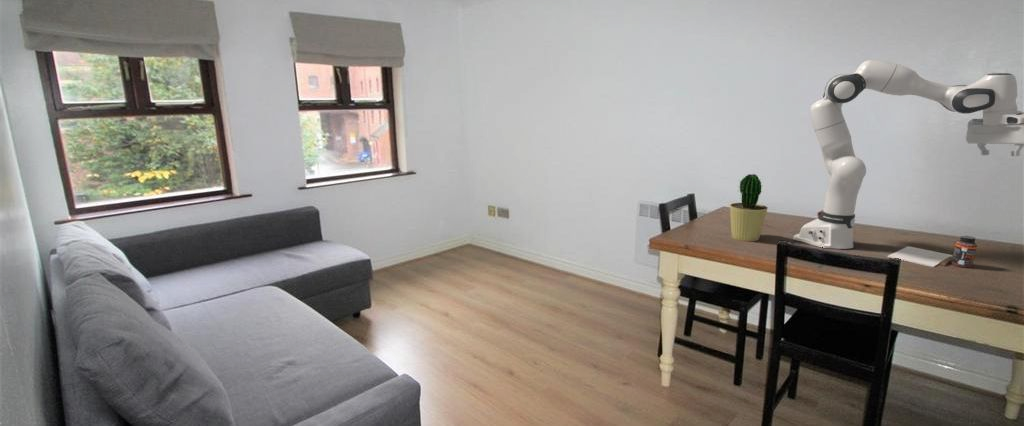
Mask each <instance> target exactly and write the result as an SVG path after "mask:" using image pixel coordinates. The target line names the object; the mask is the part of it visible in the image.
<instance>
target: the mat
mask: <svg viewBox="0 0 1024 426" xmlns="http://www.w3.org/2000/svg"><path fill="white" fill-rule="evenodd" d="M950 256H951V257H953V254H949V253H944V252H939V251H938V252H937V251H934V250H928V249H924V248H918V247H913V246H910V245H909V246H906V247H904V248H902V249H899V250H898V251H895V252H893V253H891V254H888V255H887V256H886V257H887V258H889V259H890V258H891V259H894V258H899V259H901V260H900V261H903V260H904V261H905V262H907V261H908V262H909V263H912V264H917V265H921V266H926V267H931V268H934V267H936V266H938V265H939V263H940V262H941V261H943V260H945V259H946V258H948V257H950ZM904 261H903V262H904Z"/></svg>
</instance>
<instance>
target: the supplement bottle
mask: <svg viewBox="0 0 1024 426" xmlns="http://www.w3.org/2000/svg"><path fill="white" fill-rule="evenodd" d="M977 249H978V244H977V243H976V237H974V236H972V235H971V236H970V235H960V240H957V241H956V243H955V246H954V250H953V254H952V255H953V256H952V257H953V258H952V262H951V264H952V265H953V266H956V267H960V268H968V269H969V268H972V267H973V265H974V261H975V257H976V252H977Z"/></svg>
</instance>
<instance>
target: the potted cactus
mask: <svg viewBox="0 0 1024 426" xmlns="http://www.w3.org/2000/svg"><path fill="white" fill-rule="evenodd" d="M744 175H745V177H743V178H742V179H741V180H739V181H738V182H739V186H738V188H739V190H737V192H738V193H739V195H740V196H741V198H740V199H741V200H740V201H741V202H732V203H730V204H729V212H730V214H729V215H730V228H731V229H730V231H731V238H732V239H734V240H738V241H743V242H756V241H757V242H758V241H759V239H760V236H761V233H762V230H763V226H764V222H765V220H766V215H767V212H768V206H765V205H763V204H759V202H758V201H759V197H761V193H762V187H763V184H762V181H761V178H759V176H758V174H755V173H751V174H749V173H747V174H744Z"/></svg>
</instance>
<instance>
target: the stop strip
mask: <svg viewBox="0 0 1024 426" xmlns="http://www.w3.org/2000/svg"><path fill="white" fill-rule="evenodd" d="M952 258H953V256H952V257H951V256H950V257H948V258H946V259H945V260H943V261H941V262H940V263H939V264H938V265H939V266H942V267H945V266H947V265H949V264H950V263H952Z"/></svg>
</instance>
